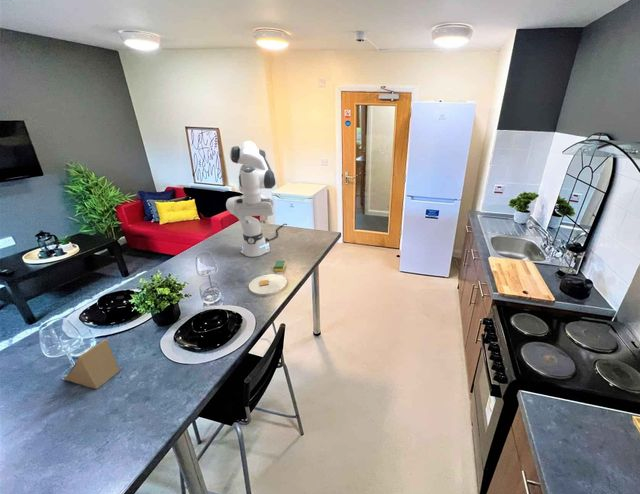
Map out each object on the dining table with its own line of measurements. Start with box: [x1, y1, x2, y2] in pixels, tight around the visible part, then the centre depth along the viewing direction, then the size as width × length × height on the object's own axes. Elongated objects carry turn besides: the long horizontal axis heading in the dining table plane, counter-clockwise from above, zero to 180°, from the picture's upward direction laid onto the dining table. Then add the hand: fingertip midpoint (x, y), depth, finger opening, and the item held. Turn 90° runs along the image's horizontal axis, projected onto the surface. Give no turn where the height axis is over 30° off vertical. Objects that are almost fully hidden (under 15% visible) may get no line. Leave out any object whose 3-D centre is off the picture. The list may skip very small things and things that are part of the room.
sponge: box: [273, 259, 286, 272], centre depth 174 cm, size 8×5×4 cm, turn 7°
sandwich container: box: [64, 338, 121, 390], centre depth 101 cm, size 9×15×15 cm, turn 76°
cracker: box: [260, 280, 269, 286], centre depth 158 cm, size 4×4×1 cm
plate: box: [248, 273, 288, 295], centre depth 159 cm, size 20×20×2 cm
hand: (256, 223), depth 159 cm, fingers open, 8 cm apart
